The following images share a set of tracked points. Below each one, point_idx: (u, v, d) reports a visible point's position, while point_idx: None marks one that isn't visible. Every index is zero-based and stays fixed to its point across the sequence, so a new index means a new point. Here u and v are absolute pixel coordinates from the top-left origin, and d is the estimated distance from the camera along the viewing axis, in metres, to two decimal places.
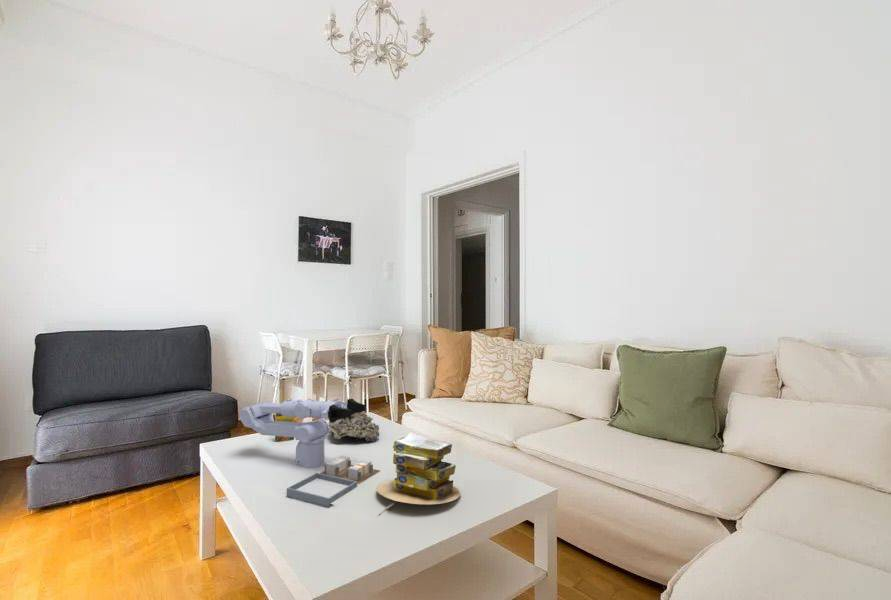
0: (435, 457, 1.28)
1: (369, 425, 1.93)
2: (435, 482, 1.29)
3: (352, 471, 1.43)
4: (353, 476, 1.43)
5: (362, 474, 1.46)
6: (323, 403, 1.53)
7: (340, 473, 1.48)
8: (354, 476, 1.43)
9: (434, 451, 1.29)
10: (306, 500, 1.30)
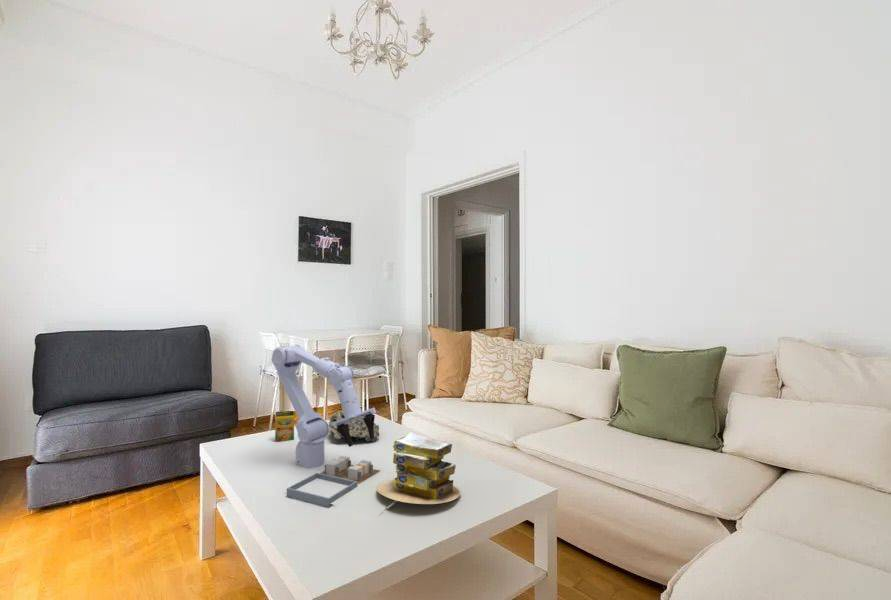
0: (435, 457, 1.29)
1: None
2: (435, 482, 1.29)
3: (352, 471, 1.43)
4: (353, 476, 1.43)
5: (362, 474, 1.46)
6: (343, 405, 1.47)
7: (340, 473, 1.48)
8: (354, 476, 1.43)
9: (434, 451, 1.29)
10: (306, 500, 1.30)
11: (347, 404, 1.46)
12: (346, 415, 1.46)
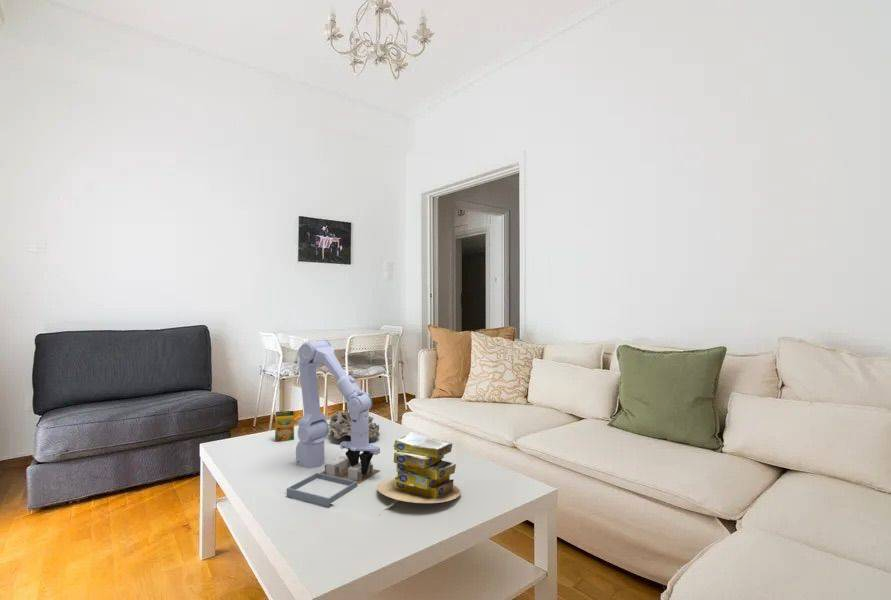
0: (435, 456, 1.29)
1: (370, 425, 1.93)
2: (435, 481, 1.30)
3: (352, 471, 1.43)
4: (353, 476, 1.43)
5: None
6: (351, 434, 1.45)
7: (340, 473, 1.48)
8: (354, 476, 1.43)
9: (434, 450, 1.29)
10: (306, 500, 1.30)
11: (354, 435, 1.44)
12: (351, 444, 1.45)
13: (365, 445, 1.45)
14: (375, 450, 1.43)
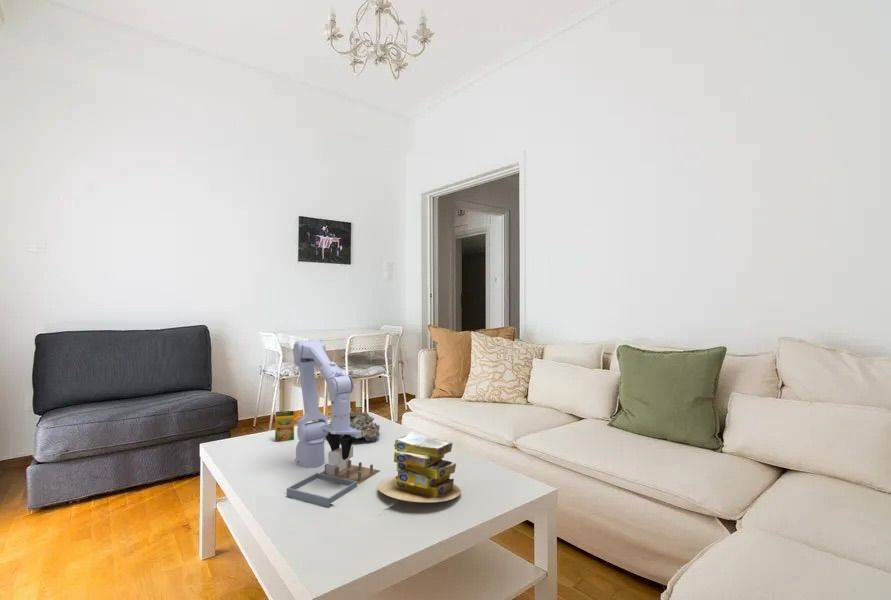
0: (435, 455, 1.30)
1: (370, 425, 1.93)
2: (435, 480, 1.30)
3: (332, 455, 1.38)
4: (333, 461, 1.37)
5: (343, 459, 1.40)
6: (332, 417, 1.39)
7: (340, 473, 1.48)
8: (334, 460, 1.37)
9: (434, 450, 1.30)
10: (306, 500, 1.30)
11: (335, 418, 1.38)
12: (331, 428, 1.39)
13: (346, 428, 1.39)
14: (356, 433, 1.37)
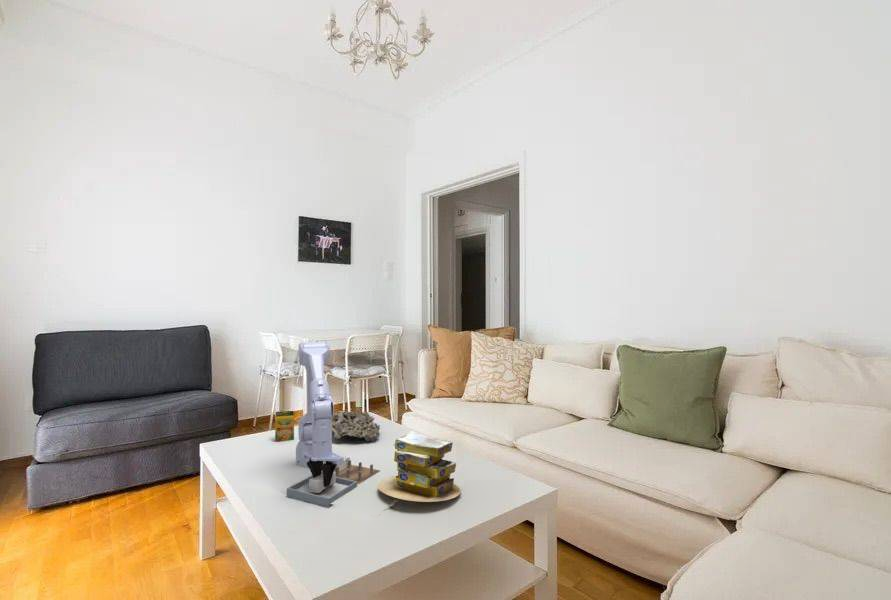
0: (436, 455, 1.30)
1: (370, 425, 1.93)
2: (436, 480, 1.31)
3: (313, 483, 1.32)
4: (314, 489, 1.32)
5: None
6: (313, 442, 1.34)
7: (340, 473, 1.48)
8: (315, 488, 1.32)
9: (435, 449, 1.30)
10: (306, 500, 1.30)
11: (316, 444, 1.33)
12: (313, 454, 1.34)
13: (327, 455, 1.34)
14: (338, 460, 1.32)
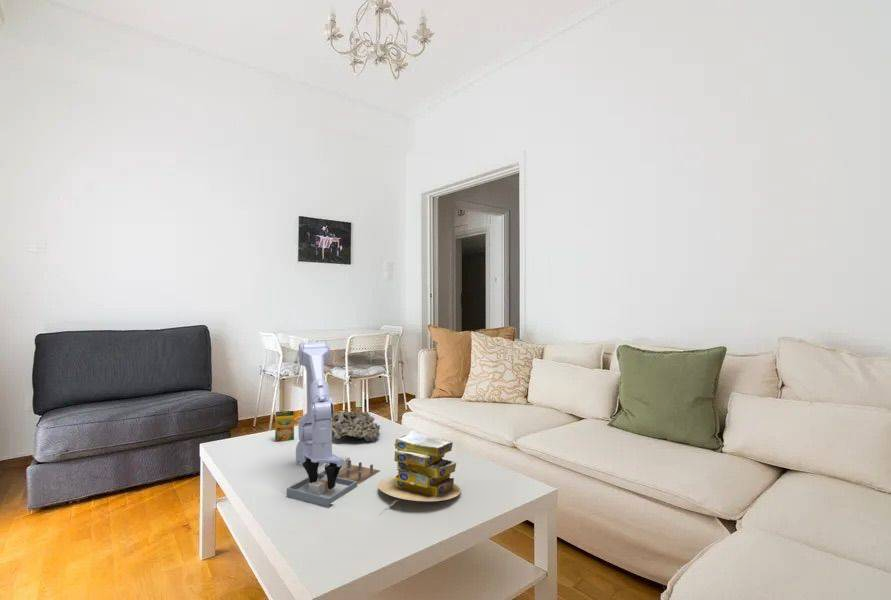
0: (436, 455, 1.30)
1: (370, 425, 1.93)
2: (436, 479, 1.31)
3: (313, 488, 1.32)
4: (314, 493, 1.32)
5: (324, 490, 1.35)
6: (313, 444, 1.34)
7: (340, 473, 1.48)
8: (315, 493, 1.32)
9: (435, 449, 1.30)
10: (306, 500, 1.30)
11: (316, 446, 1.33)
12: (313, 455, 1.34)
13: (327, 456, 1.34)
14: (338, 462, 1.32)
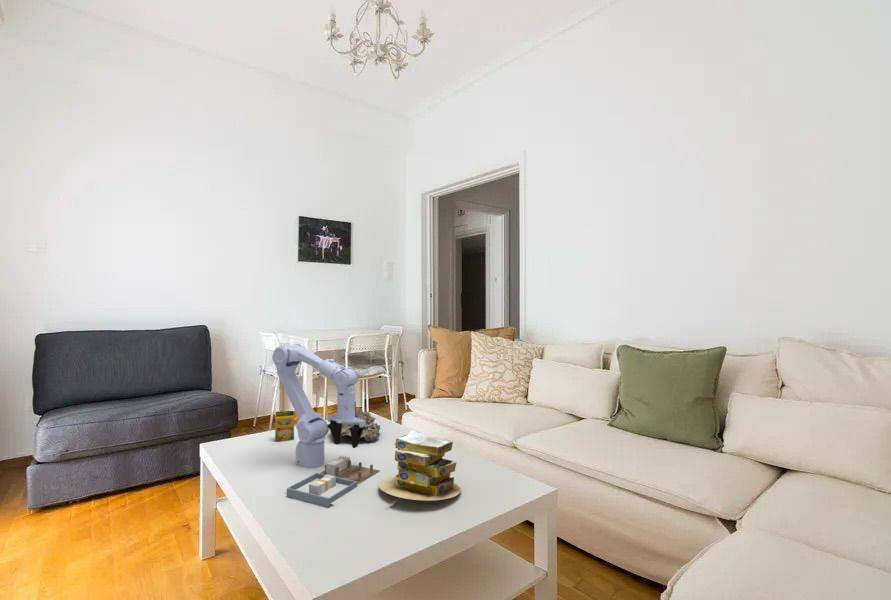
0: (436, 454, 1.31)
1: (371, 425, 1.93)
2: (436, 479, 1.31)
3: (313, 488, 1.32)
4: (314, 493, 1.32)
5: (324, 490, 1.35)
6: (338, 407, 1.50)
7: (340, 473, 1.48)
8: (315, 493, 1.32)
9: (435, 448, 1.31)
10: (306, 500, 1.30)
11: (340, 408, 1.49)
12: (338, 417, 1.50)
13: (351, 418, 1.50)
14: (360, 423, 1.47)
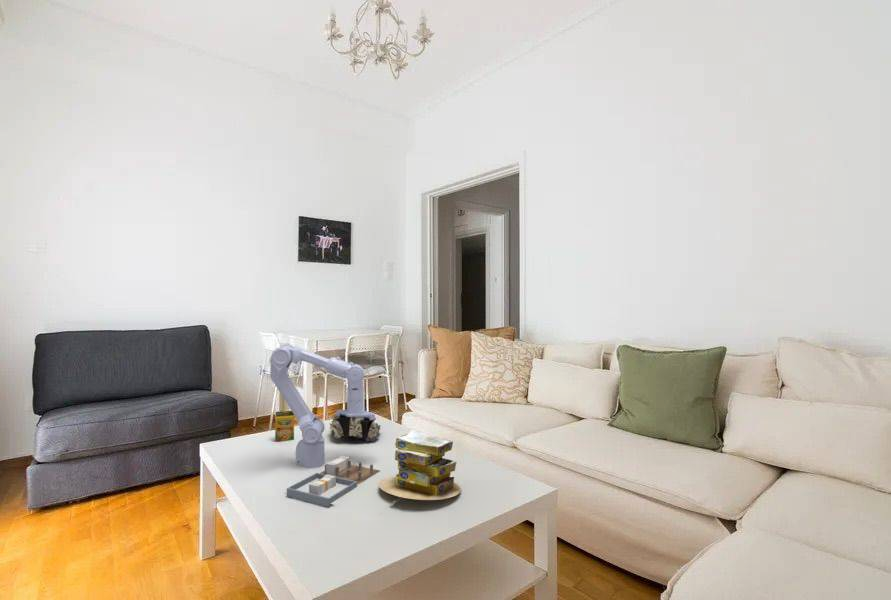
0: (436, 454, 1.31)
1: (371, 425, 1.93)
2: (436, 478, 1.32)
3: (313, 488, 1.32)
4: (314, 493, 1.32)
5: (324, 490, 1.35)
6: (348, 401, 1.57)
7: (340, 473, 1.48)
8: (315, 493, 1.32)
9: (435, 448, 1.31)
10: (306, 500, 1.30)
11: (351, 403, 1.56)
12: (348, 411, 1.57)
13: (361, 412, 1.57)
14: (370, 416, 1.55)
